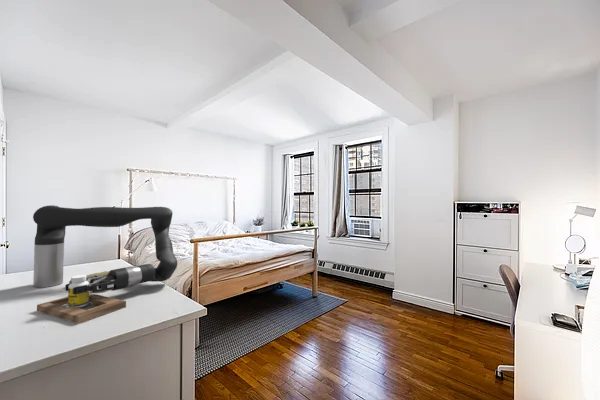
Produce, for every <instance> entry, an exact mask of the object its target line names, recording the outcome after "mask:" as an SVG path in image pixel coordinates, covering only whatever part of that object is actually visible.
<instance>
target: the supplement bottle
mask: <svg viewBox="0 0 600 400" xmlns="http://www.w3.org/2000/svg"><path fill="white" fill-rule="evenodd" d="M86 275H87V274H77V275H73V276H71V277H70V280H71V282H72V283H71V284H70V285H69V286H68V291H67V297H68V304H67V305H68V306H67V307H69V306H72V307H76V308H80V309H81V308H84V307H86V306H87V305H89V293H90V292H88V291H87V292H84V293H80V294H76V295H74V294H73V288H74V287H78V286H83V285H87V286H88V284H89V282H87V281H86Z"/></svg>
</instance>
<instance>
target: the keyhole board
mask: <svg viewBox="0 0 600 400" xmlns="http://www.w3.org/2000/svg"><path fill="white" fill-rule="evenodd" d="M89 303H90V304H91V305H92V307H93V308H92V307H91V308H89V309H85V308H84V309H83V308H81V307H80V308H76V307H72V306H69V307H68V306H67V307H66V306H65V305H68V296H65V297H62V298H58V299H53V300H50V301H46V302H43V303H39V304H37V305H36V312H39V313H42V314H46V315H49V316H52V317H56V318H59V319H62V320H66V321H69V322H72V323H76V324H79V325H80V324H83V323H86V322H88V321H90V320H93V319H96V318H100V317H102V316H106V315H108V314H112V313H113V312H116V311H118V310H121V309H124V308H126V307H127V301H126V300H122V299H119V298H118V299H117V298H114V297H110V296H106V295H105V296H104V295H101V294H96V293H92V292H89Z"/></svg>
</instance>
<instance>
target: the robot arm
mask: <svg viewBox="0 0 600 400" xmlns="http://www.w3.org/2000/svg"><path fill="white" fill-rule="evenodd" d="M172 218H173V210H172V209H171V208H169V207H166V206H145V207H117V206H97V207H86V208H85V207H83V208H71V207H60V206H58V205H52V204H51V205H43V206H41V207H39V208H37V209H36V210H35V211H34V213H33V215H32V220H33V222H34V223H35V224H36V233H35V237H34V245H33V246H34V247H33V249H34V250H33V251H34V252H33V253H34V255H33V276H32V277H33V282H32V284H33V285H32V286H33V288H47V287H48V288H49V287H55V286H58V285H62V284H63V283H64V267H65V265H64V263H65V262H64V259H65V258H64V257H65V237H66V227H72V226H74V227H76V226H83V227H91V228H92V227H95V228H119V227H123V226H126V225H129V224H131V223H133V222H136V221H139V220H149V219H150V226H151V228H152V231H153V234H154V238H155V239H154V240H155V241H154V243H155V244H154V245H155V247H154V248H155V257H156V259H157V261H159V263H158V265H157V266H156V267H154V265H153V264H151V263H145V264H140V265H133V266H126V267H121V268H120V267H119V268H115V269H111V270H109V271H108V272H109V273H108V275H107V276H106V277H104V276H92V277H88V278H86V281H87V282H89V284H88V286H87V285H83V286H78V287H74V288H73V294H74V295H76V294H80V293H84V292H87V291H88V292H89V293H92V294H96V293H99V292H100V291H105V290H110V291H112V292H113V291H117V290H118V291H119V290H122V289H127V288H131V287H134V286H137V285H140V284H144V283H147V282H153V283H154V282H165V281H167V280H169V279H170V278H171V277H172V276H173V274H174V273H175V272H176V270H177V267H178V260H177V258H176V255H175V253H174V248H173V242H172V239H171V238H170V236H169V234H170V233H169V232H170V227H171V223H172ZM70 284H71V283H70ZM70 284H69V283H67V284H65V288H64V291H66V292H68V286H69V285H70ZM100 293H101V292H100Z"/></svg>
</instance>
